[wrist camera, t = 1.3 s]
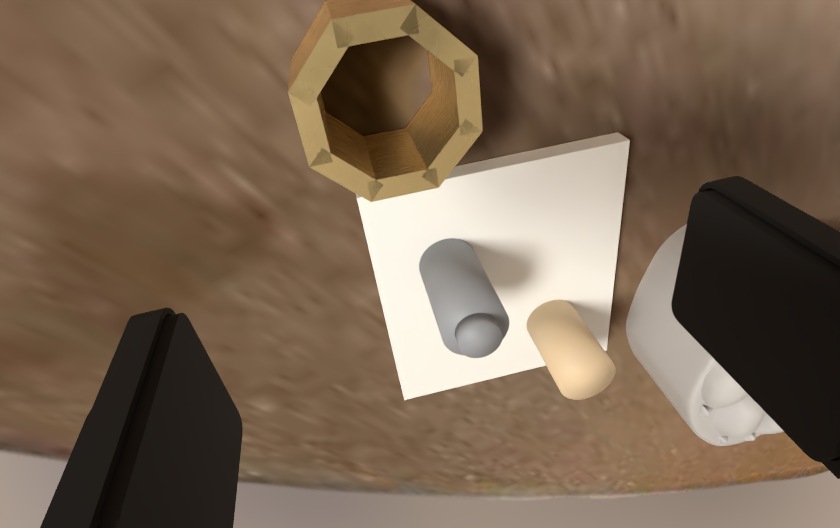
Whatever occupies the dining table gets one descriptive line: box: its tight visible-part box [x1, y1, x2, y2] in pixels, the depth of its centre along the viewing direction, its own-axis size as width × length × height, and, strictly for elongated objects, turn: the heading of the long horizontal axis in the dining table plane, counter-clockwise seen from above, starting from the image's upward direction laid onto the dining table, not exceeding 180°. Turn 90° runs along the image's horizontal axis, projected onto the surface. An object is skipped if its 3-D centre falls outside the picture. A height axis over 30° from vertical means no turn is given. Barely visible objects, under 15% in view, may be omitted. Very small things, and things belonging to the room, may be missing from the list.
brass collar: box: [288, 0, 483, 202], centre depth 21 cm, size 7×7×5 cm
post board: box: [356, 132, 630, 400], centre depth 27 cm, size 14×15×8 cm
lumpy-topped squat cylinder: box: [626, 224, 784, 446], centre depth 31 cm, size 10×13×9 cm
